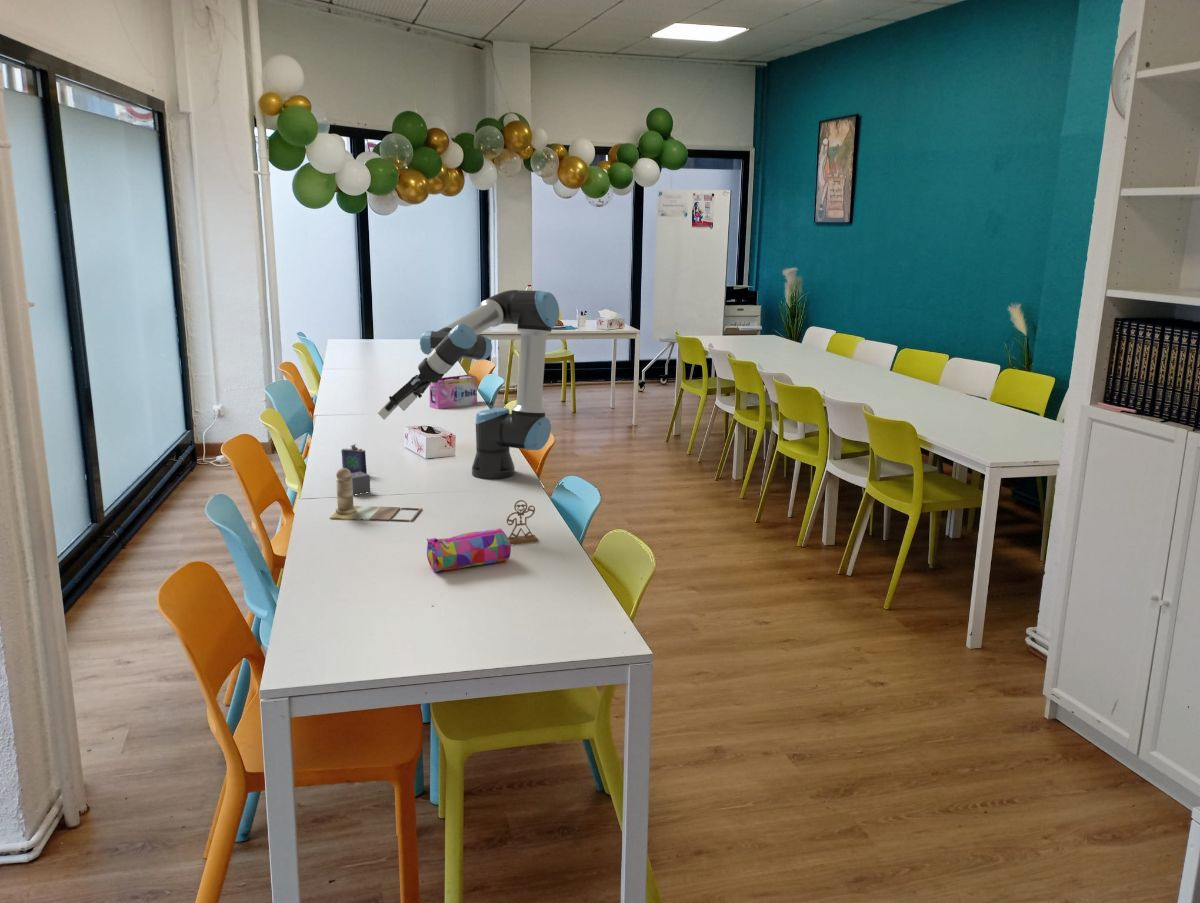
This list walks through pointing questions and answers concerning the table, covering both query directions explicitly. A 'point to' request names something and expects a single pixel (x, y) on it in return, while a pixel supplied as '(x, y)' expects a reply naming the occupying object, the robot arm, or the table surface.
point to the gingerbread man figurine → (527, 537)
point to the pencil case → (468, 550)
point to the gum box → (453, 392)
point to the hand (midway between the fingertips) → (391, 412)
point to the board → (373, 513)
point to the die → (360, 482)
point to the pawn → (344, 492)
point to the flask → (354, 459)
